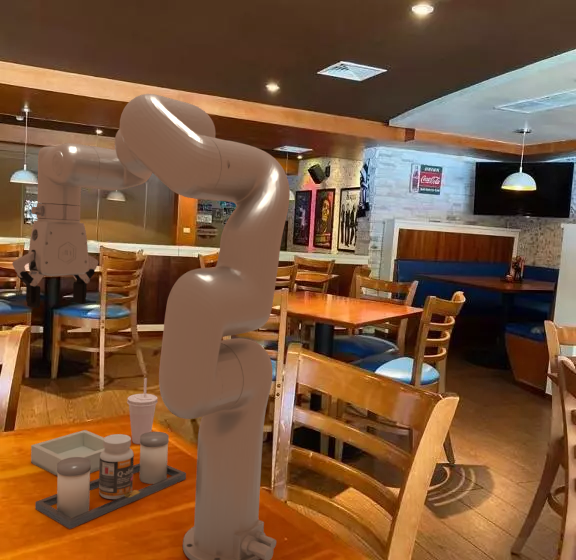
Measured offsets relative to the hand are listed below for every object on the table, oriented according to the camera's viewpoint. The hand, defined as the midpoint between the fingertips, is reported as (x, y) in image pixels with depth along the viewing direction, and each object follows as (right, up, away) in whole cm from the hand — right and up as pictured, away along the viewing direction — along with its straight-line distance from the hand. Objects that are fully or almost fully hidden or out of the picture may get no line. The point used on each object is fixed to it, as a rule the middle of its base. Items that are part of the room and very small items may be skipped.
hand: (57, 304), depth 112 cm
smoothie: (+12, -31, +17) cm, 37 cm away
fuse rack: (+13, -33, -8) cm, 36 cm away
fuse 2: (+18, -32, -1) cm, 37 cm away
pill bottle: (+13, -33, -8) cm, 37 cm away
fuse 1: (+8, -33, -15) cm, 37 cm away
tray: (+2, -31, +4) cm, 31 cm away
